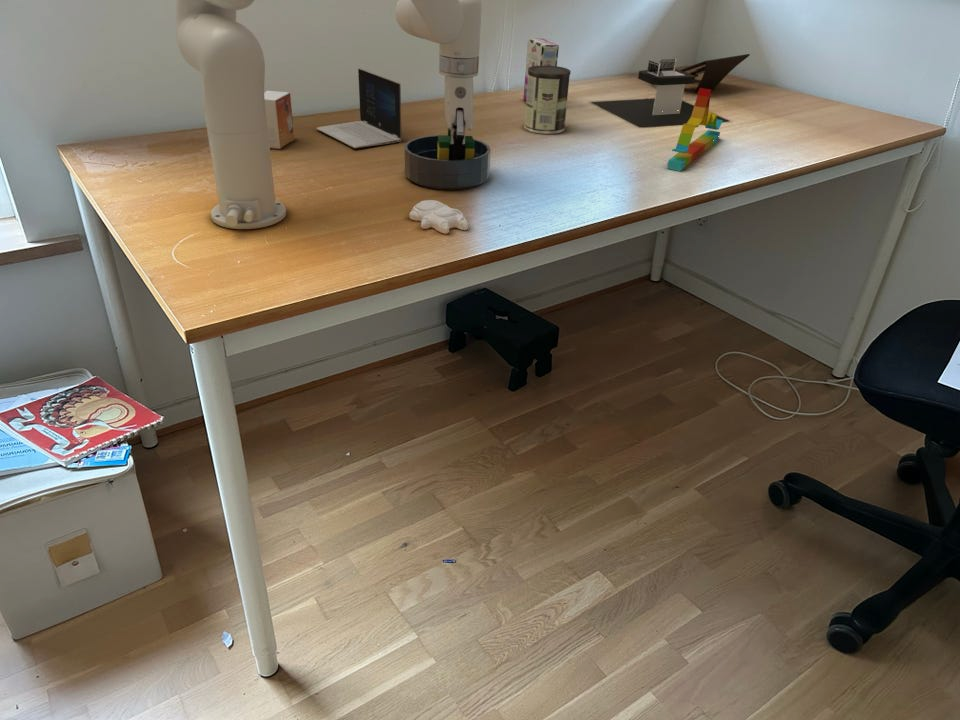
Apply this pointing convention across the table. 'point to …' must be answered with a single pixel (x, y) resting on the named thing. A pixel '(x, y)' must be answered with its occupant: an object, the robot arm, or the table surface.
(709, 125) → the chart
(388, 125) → the laptop
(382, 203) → the table surface
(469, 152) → the sponge
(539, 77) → the coffee can
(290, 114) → the small box
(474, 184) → the bowl
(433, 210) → the white flat figure
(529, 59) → the candy bar box
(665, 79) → the black-topped pedestal
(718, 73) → the laptop tray
